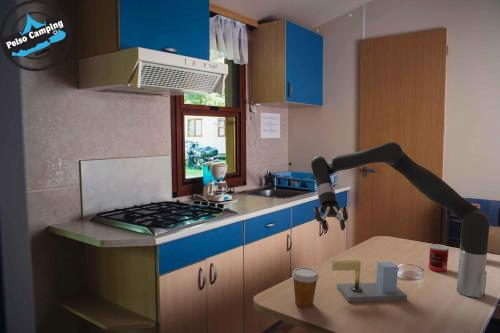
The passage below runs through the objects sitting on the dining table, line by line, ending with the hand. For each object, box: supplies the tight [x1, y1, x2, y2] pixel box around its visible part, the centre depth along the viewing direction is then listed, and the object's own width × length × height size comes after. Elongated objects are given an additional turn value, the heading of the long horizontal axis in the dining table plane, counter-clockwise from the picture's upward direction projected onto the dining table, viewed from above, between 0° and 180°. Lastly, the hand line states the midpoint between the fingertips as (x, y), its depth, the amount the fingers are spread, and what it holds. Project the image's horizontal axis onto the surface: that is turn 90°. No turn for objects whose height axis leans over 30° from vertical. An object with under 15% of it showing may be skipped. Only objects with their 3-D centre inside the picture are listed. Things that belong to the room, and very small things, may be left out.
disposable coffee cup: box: [291, 267, 320, 308], centre depth 142 cm, size 10×10×12 cm
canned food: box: [428, 243, 449, 273], centre depth 180 cm, size 8×8×11 cm
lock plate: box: [336, 282, 408, 303], centre depth 152 cm, size 23×12×4 cm, turn 97°
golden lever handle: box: [329, 259, 362, 289], centre depth 150 cm, size 11×2×11 cm, turn 97°
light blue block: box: [375, 261, 399, 292], centre depth 152 cm, size 6×6×10 cm
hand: (334, 229), depth 161 cm, fingers open, 6 cm apart
